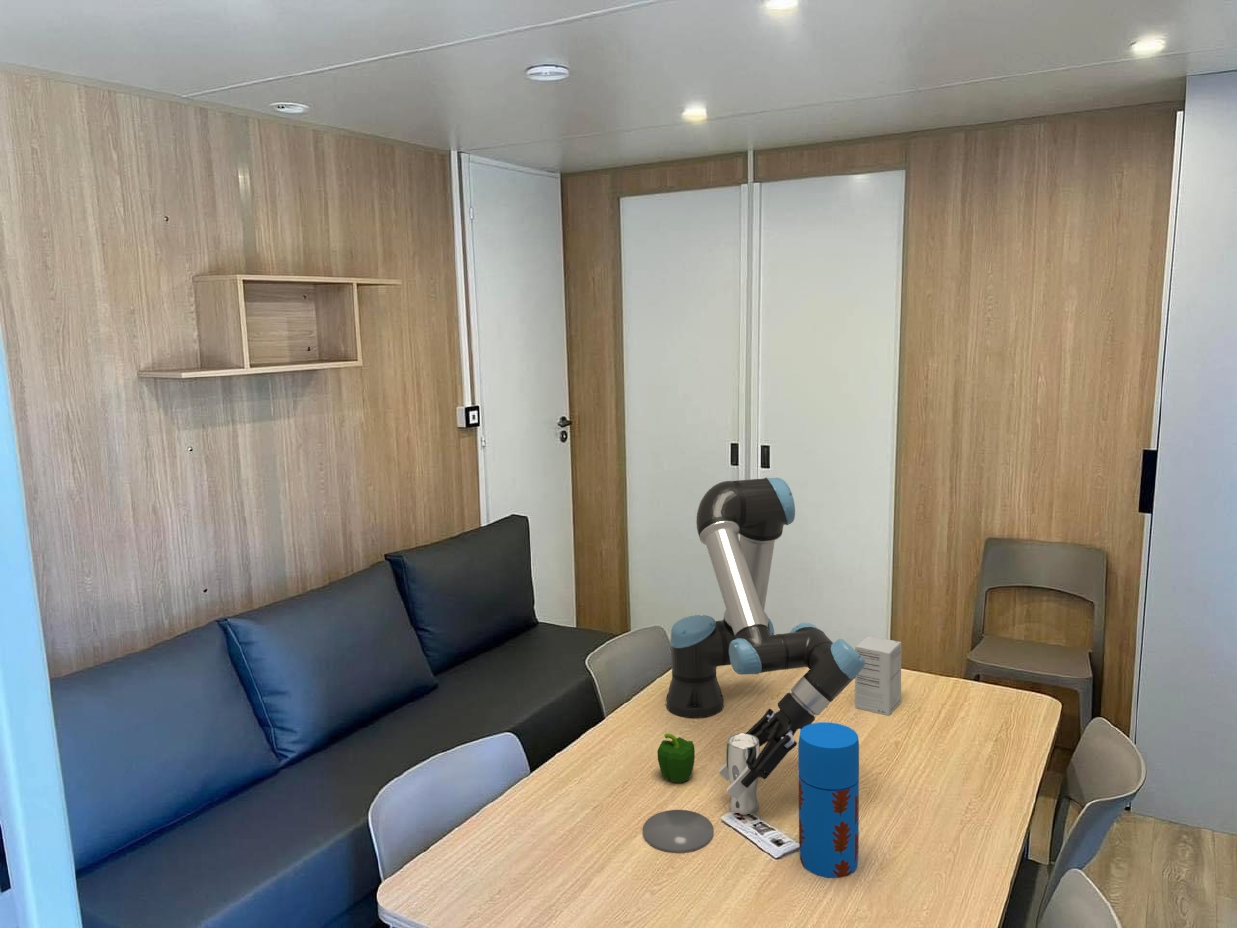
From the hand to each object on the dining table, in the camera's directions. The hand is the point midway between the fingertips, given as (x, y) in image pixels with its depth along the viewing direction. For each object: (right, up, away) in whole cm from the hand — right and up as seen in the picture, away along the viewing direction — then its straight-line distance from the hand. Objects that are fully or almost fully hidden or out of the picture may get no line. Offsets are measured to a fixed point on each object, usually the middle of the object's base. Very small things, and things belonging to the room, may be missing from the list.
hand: (727, 785), depth 184 cm
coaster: (-11, -7, -7) cm, 14 cm away
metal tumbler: (+4, -5, +1) cm, 7 cm away
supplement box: (+45, +3, +48) cm, 66 cm away
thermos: (+17, -8, -18) cm, 26 cm away
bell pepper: (-9, -4, +15) cm, 18 cm away
